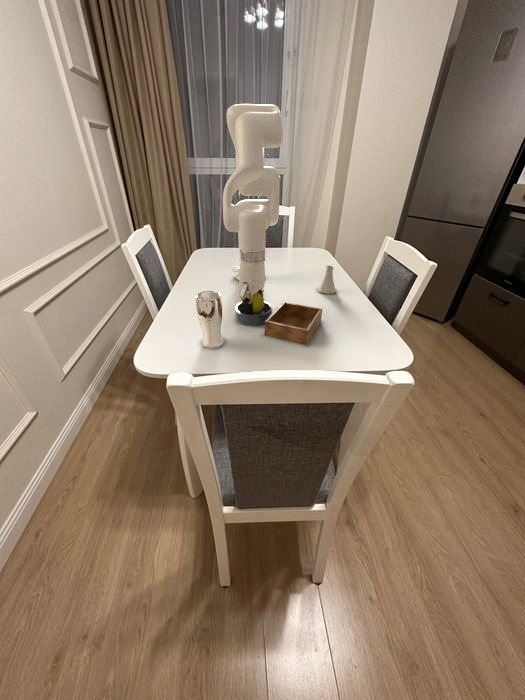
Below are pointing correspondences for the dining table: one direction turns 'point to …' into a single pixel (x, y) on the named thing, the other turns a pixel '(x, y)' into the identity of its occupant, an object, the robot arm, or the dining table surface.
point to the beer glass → (210, 317)
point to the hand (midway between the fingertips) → (253, 308)
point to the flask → (327, 282)
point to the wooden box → (293, 322)
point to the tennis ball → (257, 302)
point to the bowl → (253, 315)
